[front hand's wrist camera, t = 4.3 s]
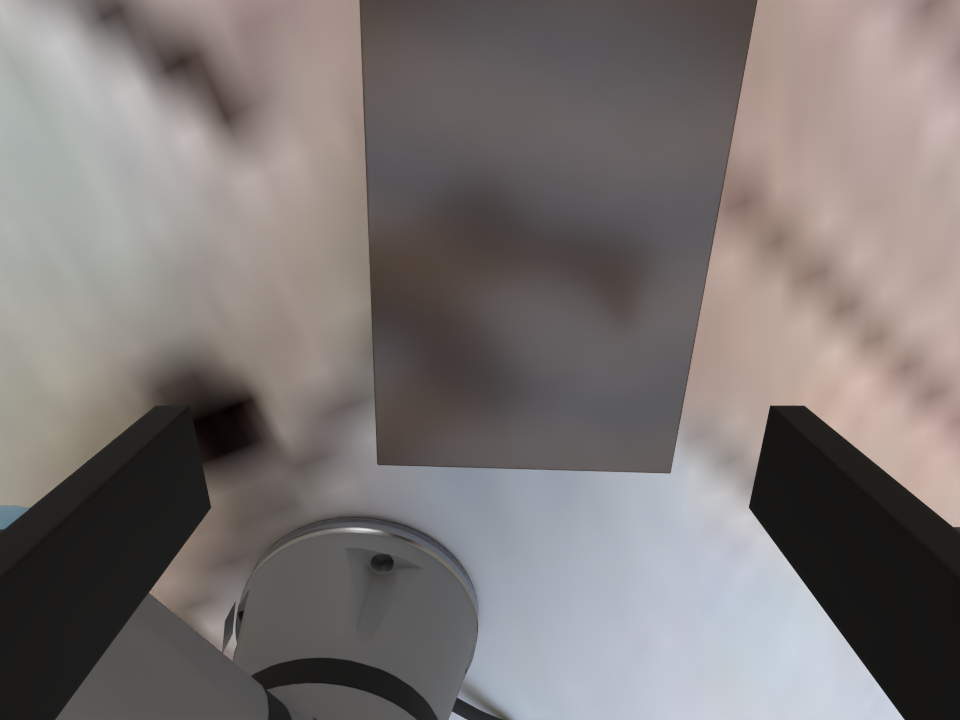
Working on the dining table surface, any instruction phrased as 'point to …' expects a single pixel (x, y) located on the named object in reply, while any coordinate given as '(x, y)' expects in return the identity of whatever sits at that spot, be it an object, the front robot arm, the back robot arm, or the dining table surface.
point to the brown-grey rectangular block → (542, 222)
